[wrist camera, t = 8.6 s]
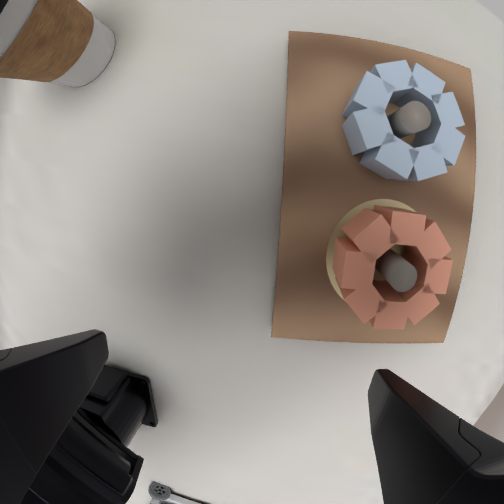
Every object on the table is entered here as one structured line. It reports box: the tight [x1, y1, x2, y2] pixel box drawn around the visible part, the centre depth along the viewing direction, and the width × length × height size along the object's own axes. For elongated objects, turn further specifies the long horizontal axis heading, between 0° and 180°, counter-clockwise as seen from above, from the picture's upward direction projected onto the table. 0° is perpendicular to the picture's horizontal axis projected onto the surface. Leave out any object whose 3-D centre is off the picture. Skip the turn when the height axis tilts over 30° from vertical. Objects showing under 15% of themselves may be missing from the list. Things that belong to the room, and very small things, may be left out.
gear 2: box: [332, 205, 453, 329], centre depth 15 cm, size 6×6×4 cm
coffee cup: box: [0, 0, 115, 87], centre depth 10 cm, size 8×8×15 cm
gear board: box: [271, 31, 476, 343], centre depth 15 cm, size 20×13×6 cm, turn 177°
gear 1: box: [342, 60, 465, 181], centre depth 13 cm, size 6×6×4 cm
